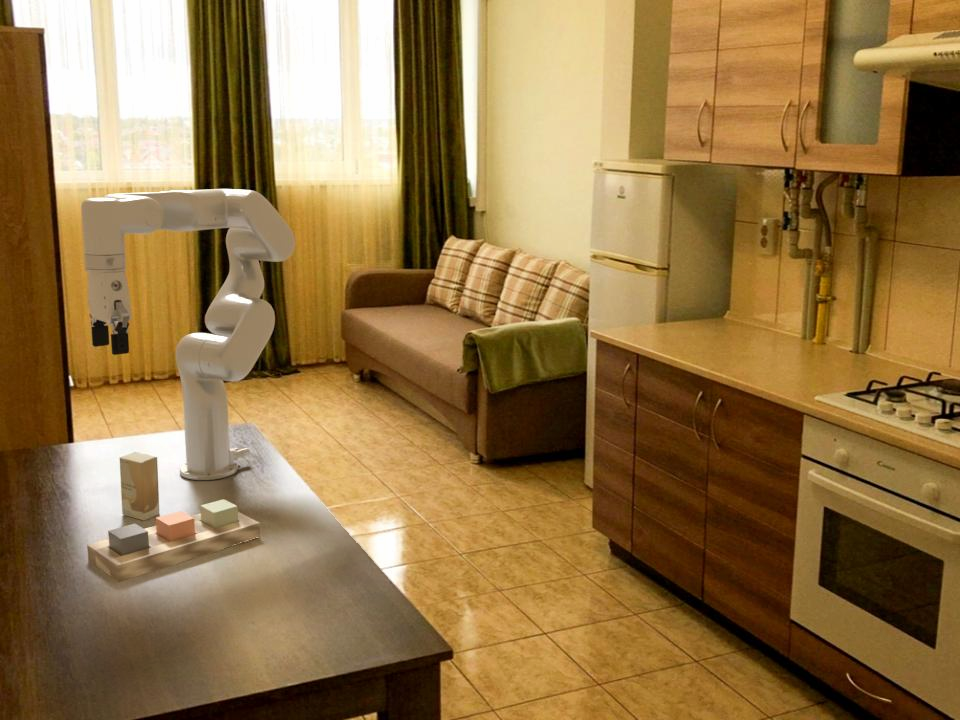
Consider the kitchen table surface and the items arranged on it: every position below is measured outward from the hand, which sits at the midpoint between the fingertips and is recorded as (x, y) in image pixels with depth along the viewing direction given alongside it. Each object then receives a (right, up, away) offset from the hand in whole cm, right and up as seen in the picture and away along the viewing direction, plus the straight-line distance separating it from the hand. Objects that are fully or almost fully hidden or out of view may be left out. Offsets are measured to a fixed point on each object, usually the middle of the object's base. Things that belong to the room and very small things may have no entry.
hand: (110, 349), depth 200 cm
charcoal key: (+10, -36, -19) cm, 42 cm away
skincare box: (+5, -33, +3) cm, 34 cm away
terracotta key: (+17, -35, -13) cm, 41 cm away
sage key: (+23, -33, -7) cm, 41 cm away
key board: (+17, -37, -13) cm, 42 cm away
